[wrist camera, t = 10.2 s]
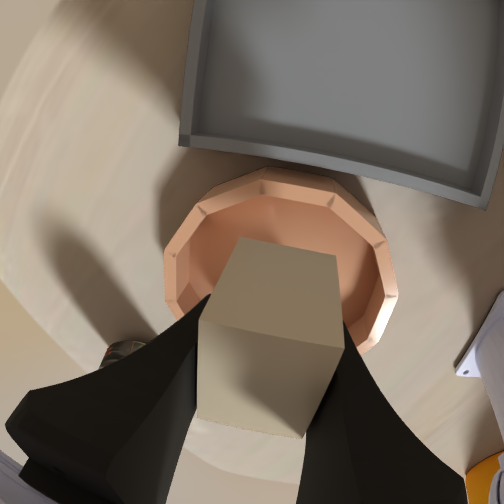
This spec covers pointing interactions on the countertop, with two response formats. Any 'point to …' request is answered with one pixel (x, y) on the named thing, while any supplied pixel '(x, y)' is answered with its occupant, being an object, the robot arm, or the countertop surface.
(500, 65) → the tray
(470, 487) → the beer bottle
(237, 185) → the bowl
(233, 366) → the cream wooden cube
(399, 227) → the countertop surface
